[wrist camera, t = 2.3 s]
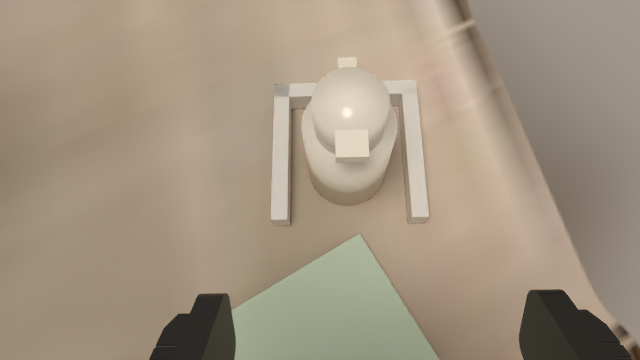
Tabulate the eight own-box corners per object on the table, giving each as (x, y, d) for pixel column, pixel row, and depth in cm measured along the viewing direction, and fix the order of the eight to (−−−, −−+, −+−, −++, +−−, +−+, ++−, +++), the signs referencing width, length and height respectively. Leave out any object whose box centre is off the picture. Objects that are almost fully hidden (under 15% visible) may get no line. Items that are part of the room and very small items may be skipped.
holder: (423, 223, 33) (428, 216, 31) (274, 225, 33) (270, 219, 31) (411, 92, 36) (415, 79, 35) (277, 96, 37) (274, 84, 35)
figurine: (387, 210, 33) (409, 155, 23) (309, 211, 33) (296, 158, 23) (381, 114, 36) (398, 27, 26) (309, 117, 36) (297, 31, 26)
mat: (218, 319, 31) (216, 319, 30) (359, 235, 33) (359, 233, 32) (300, 490, 27) (299, 493, 27) (454, 385, 29) (456, 386, 28)
